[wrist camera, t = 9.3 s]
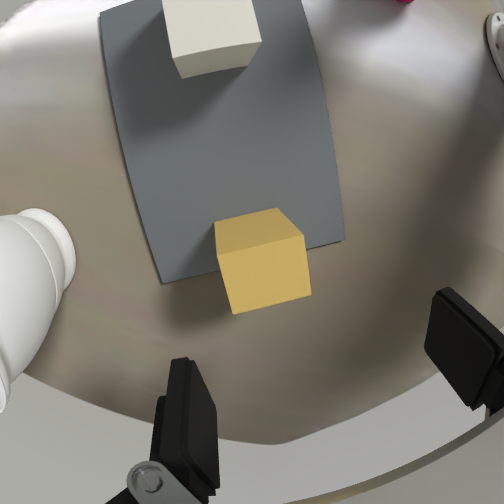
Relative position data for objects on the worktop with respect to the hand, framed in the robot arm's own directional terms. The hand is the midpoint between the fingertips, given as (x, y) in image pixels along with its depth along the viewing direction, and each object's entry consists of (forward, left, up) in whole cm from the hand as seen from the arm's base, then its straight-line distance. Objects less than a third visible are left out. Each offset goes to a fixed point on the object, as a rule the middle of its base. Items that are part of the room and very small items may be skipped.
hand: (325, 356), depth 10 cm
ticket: (+1, -17, -15) cm, 22 cm away
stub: (+1, 0, -15) cm, 15 cm away
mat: (+1, -10, -15) cm, 18 cm away
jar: (+20, -3, -16) cm, 25 cm away
